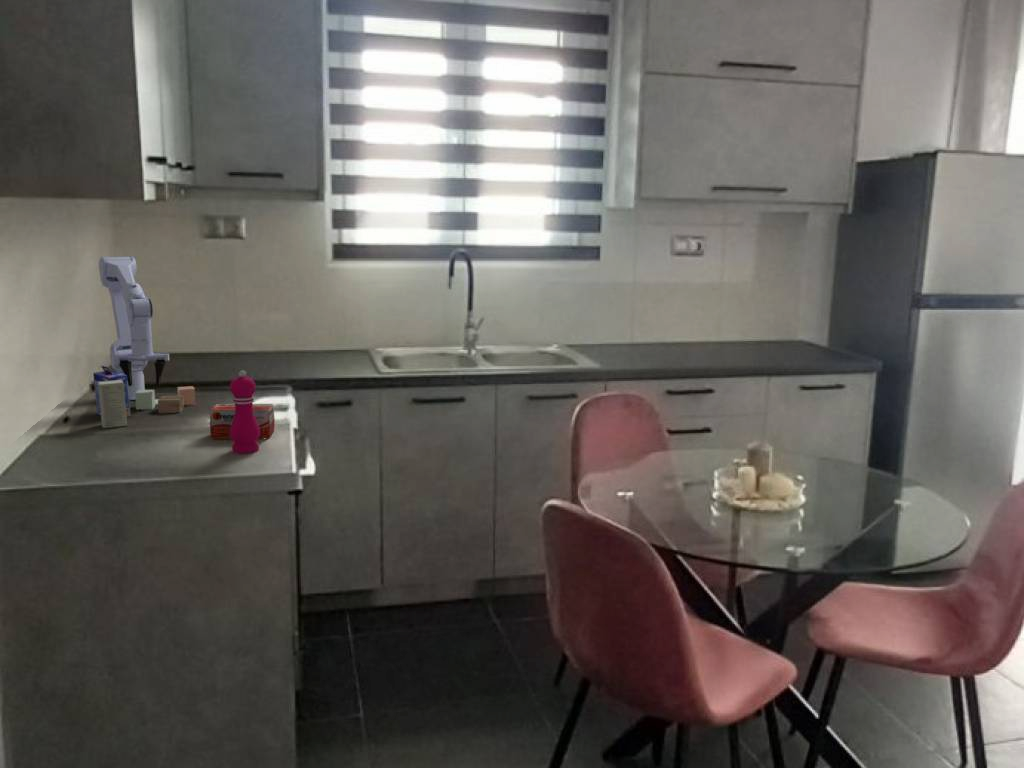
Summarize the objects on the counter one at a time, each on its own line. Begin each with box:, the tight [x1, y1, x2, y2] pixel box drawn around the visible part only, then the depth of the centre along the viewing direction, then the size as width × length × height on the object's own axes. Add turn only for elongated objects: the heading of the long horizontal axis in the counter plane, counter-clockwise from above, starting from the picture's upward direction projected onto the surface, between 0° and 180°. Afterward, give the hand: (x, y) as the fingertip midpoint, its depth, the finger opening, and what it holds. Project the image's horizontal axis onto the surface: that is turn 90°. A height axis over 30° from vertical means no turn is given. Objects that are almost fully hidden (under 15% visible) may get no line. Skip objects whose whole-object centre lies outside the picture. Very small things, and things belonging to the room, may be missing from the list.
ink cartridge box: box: [92, 365, 131, 418], centre depth 246 cm, size 10×6×14 cm, turn 51°
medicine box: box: [209, 403, 276, 440], centre depth 227 cm, size 15×8×8 cm, turn 97°
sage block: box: [135, 389, 156, 410], centre depth 257 cm, size 4×4×5 cm
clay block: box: [177, 385, 197, 406], centre depth 263 cm, size 4×4×5 cm
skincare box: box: [98, 380, 128, 429], centre depth 234 cm, size 6×4×12 cm
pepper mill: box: [229, 369, 260, 454], centre depth 212 cm, size 7×7×20 cm
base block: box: [157, 395, 185, 414], centre depth 254 cm, size 6×6×4 cm
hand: (144, 385), depth 256 cm, fingers open, 7 cm apart
